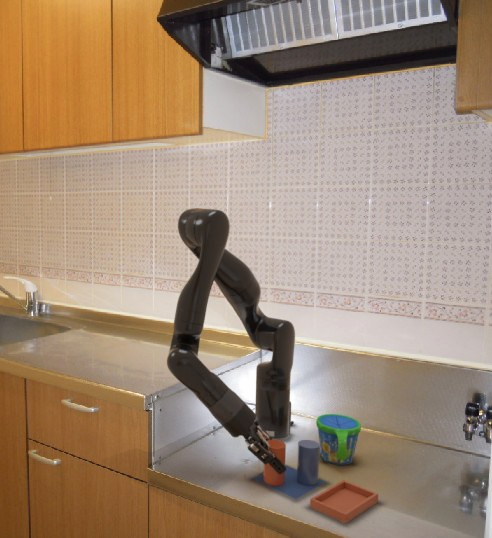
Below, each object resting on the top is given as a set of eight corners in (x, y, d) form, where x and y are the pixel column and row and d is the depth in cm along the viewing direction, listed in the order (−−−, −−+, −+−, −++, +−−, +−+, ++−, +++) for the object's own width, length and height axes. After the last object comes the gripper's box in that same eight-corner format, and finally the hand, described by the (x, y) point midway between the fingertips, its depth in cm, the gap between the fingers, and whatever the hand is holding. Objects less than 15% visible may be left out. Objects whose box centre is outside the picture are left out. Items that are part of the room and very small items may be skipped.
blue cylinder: (304, 474, 136) (305, 438, 135) (322, 481, 132) (323, 444, 131) (292, 480, 133) (293, 443, 132) (310, 488, 129) (312, 450, 128)
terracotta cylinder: (271, 474, 136) (272, 438, 135) (288, 481, 132) (290, 444, 131) (259, 480, 133) (260, 443, 132) (276, 488, 129) (277, 450, 128)
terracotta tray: (342, 488, 130) (343, 479, 130) (377, 502, 124) (378, 493, 123) (309, 508, 121) (310, 498, 121) (345, 524, 115) (346, 514, 115)
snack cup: (361, 476, 135) (363, 435, 134) (314, 470, 139) (316, 430, 138) (357, 450, 150) (358, 412, 149) (315, 445, 153) (316, 408, 152)
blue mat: (282, 465, 141) (282, 464, 141) (326, 483, 132) (326, 481, 132) (251, 479, 134) (252, 478, 134) (295, 500, 125) (295, 498, 125)
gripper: (242, 412, 125) (297, 470, 124) (243, 391, 139) (293, 443, 138) (217, 433, 127) (271, 491, 126) (221, 411, 141) (270, 462, 140)
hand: (282, 466), depth 132 cm, fingers closed on terracotta cylinder, 5 cm apart
